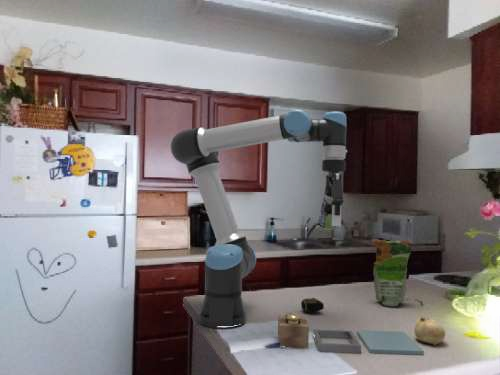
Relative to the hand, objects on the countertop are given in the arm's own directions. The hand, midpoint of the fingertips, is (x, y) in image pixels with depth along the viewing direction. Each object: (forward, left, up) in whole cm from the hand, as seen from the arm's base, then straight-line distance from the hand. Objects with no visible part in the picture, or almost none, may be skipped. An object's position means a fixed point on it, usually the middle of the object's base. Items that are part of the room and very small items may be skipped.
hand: (332, 224), depth 127 cm
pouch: (+27, +22, -32) cm, 47 cm away
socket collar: (-2, -20, -32) cm, 37 cm away
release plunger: (-14, -20, -31) cm, 40 cm away
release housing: (-14, -20, -32) cm, 40 cm away
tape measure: (-2, +8, -31) cm, 33 cm away
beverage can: (0, +8, -2) cm, 8 cm away
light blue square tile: (+13, -18, -32) cm, 39 cm away
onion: (+26, -16, -32) cm, 44 cm away
